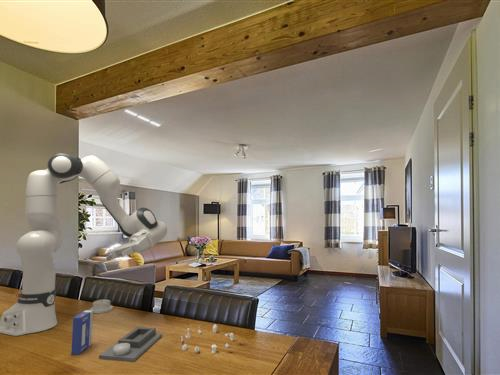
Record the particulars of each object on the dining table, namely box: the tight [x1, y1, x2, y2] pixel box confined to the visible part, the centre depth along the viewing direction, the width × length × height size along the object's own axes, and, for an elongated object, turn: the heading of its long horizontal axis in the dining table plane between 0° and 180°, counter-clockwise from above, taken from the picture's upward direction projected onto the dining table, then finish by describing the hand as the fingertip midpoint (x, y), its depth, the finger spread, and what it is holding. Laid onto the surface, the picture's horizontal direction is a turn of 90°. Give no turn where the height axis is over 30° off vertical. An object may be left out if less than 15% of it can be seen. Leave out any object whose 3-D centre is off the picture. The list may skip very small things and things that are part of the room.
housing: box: [98, 326, 163, 362], centre depth 105 cm, size 12×20×3 cm, turn 171°
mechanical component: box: [89, 299, 114, 314], centre depth 145 cm, size 10×4×10 cm
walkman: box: [70, 309, 94, 355], centre depth 104 cm, size 8×3×12 cm, turn 0°
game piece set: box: [180, 324, 235, 354], centre depth 110 cm, size 19×20×4 cm
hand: (114, 257), depth 124 cm, fingers open, 8 cm apart
